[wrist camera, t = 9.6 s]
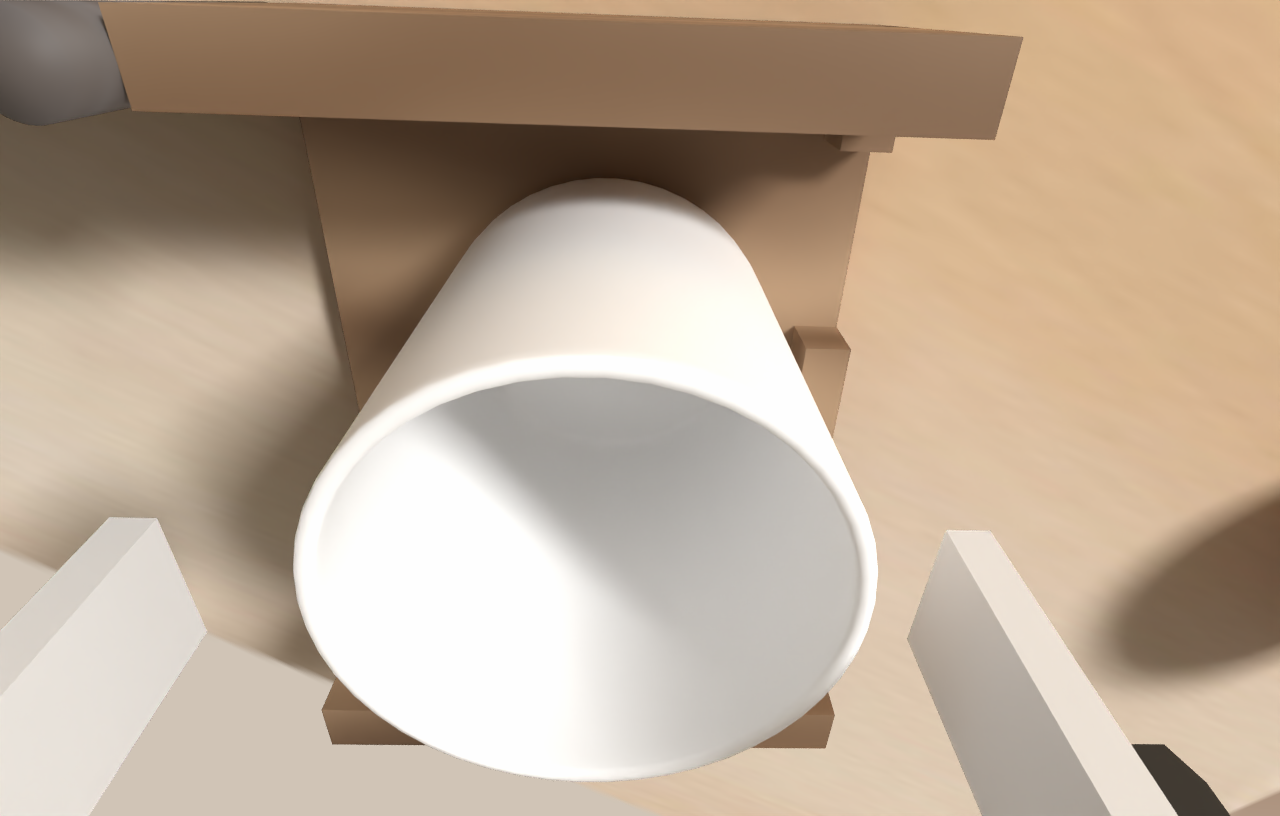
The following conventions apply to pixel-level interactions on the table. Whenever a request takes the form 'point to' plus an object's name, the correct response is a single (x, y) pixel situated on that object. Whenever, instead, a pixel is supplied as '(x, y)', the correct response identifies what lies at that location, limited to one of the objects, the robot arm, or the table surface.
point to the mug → (590, 506)
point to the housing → (531, 143)
